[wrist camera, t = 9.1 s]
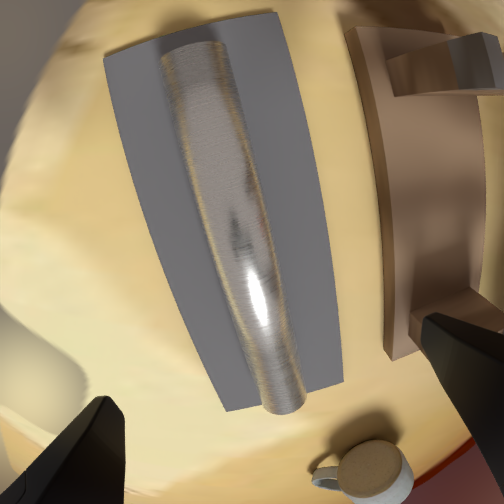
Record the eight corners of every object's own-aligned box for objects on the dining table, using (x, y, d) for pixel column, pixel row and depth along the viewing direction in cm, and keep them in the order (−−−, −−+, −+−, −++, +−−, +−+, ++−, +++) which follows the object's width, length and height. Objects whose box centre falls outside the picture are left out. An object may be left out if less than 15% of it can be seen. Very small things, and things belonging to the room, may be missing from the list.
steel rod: (302, 376, 20) (310, 408, 17) (260, 385, 20) (263, 418, 17) (227, 53, 12) (224, 34, 9) (167, 70, 12) (150, 57, 9)
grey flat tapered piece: (341, 377, 21) (343, 381, 20) (226, 407, 21) (226, 411, 20) (275, 15, 12) (276, 12, 11) (106, 60, 12) (102, 58, 11)
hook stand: (462, 314, 20) (523, 374, 12) (383, 349, 20) (437, 432, 12) (448, 40, 12) (545, 21, 5) (344, 34, 12) (438, -26, 5)
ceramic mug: (388, 423, 25) (415, 480, 18) (400, 447, 28) (422, 493, 20) (297, 465, 26) (310, 524, 19) (324, 482, 29) (336, 530, 22)
